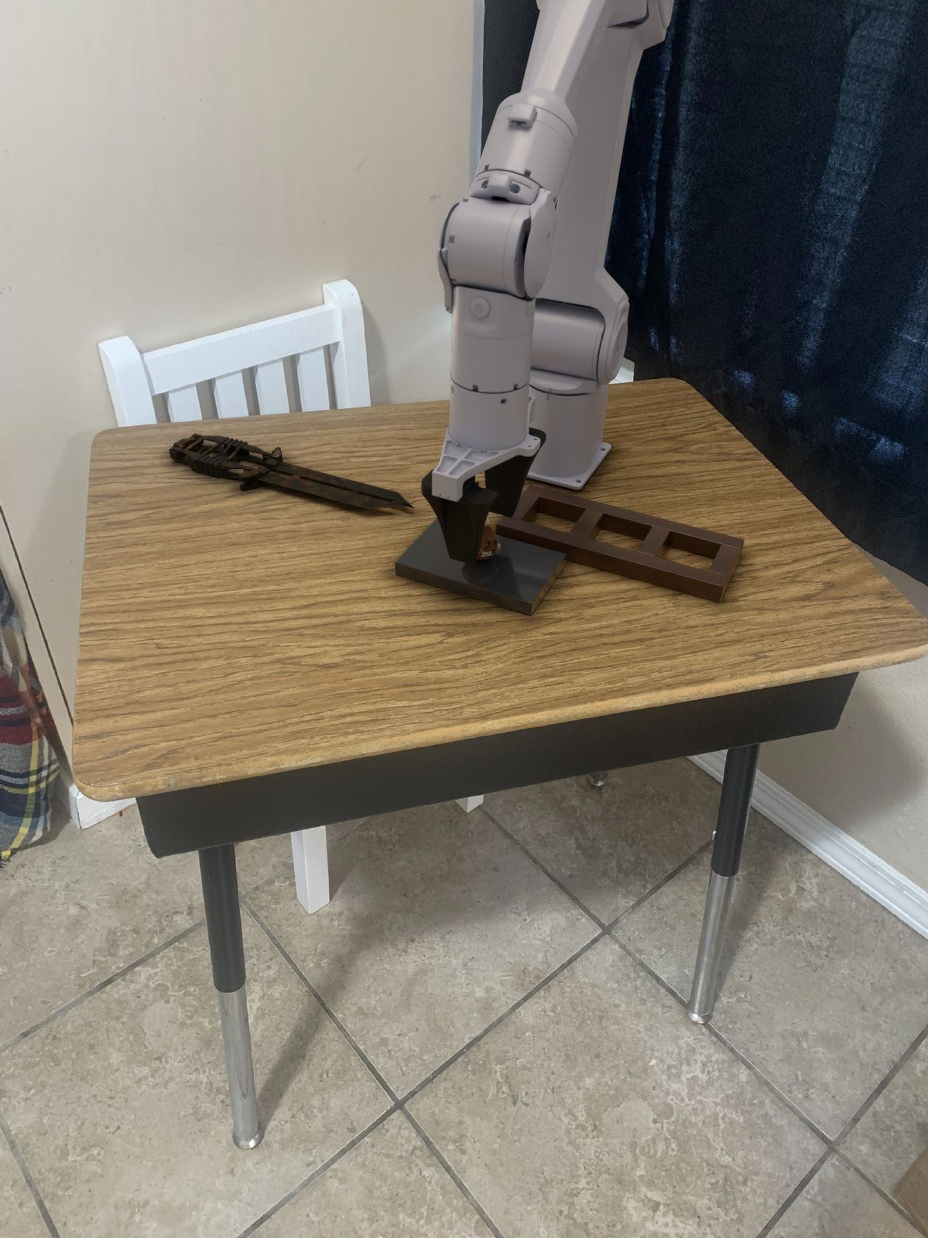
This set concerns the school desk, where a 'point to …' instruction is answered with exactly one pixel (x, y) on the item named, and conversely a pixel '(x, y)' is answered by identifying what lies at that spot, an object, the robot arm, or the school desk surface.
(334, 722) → the school desk surface
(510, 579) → the board
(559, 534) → the rack
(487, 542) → the chocolate
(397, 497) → the knife
